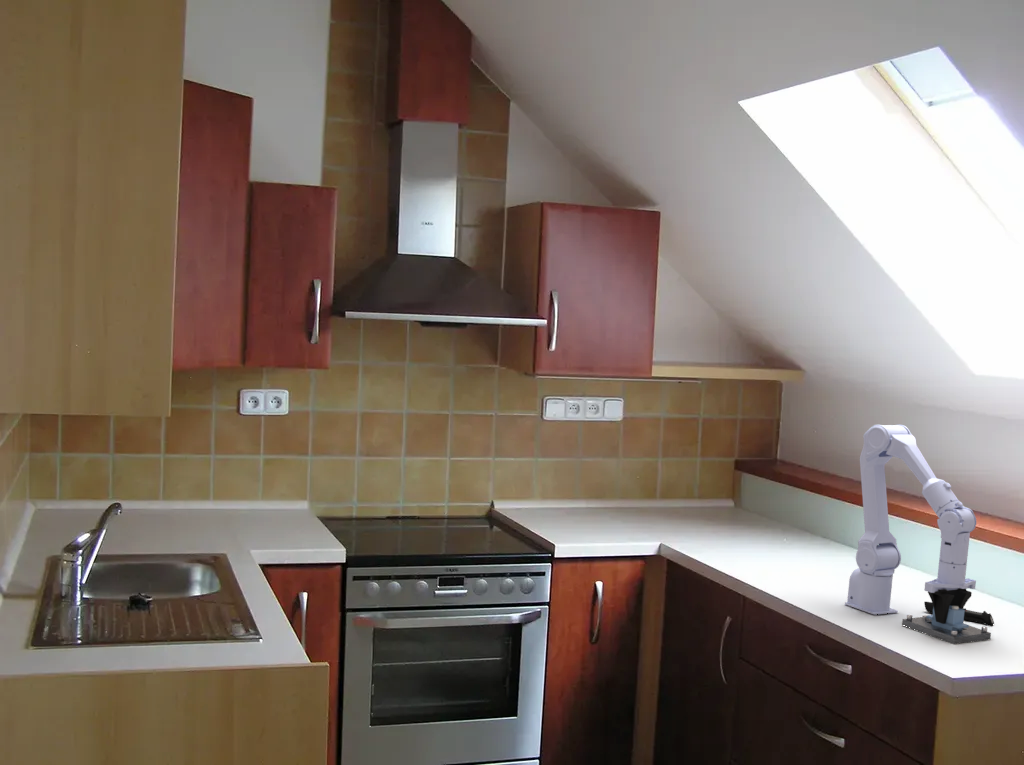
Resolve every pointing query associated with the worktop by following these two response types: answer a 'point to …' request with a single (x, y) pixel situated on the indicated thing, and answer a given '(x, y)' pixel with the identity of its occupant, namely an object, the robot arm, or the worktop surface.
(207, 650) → the worktop surface
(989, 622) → the electric trimmer
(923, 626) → the plate
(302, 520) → the worktop surface
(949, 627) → the servo
